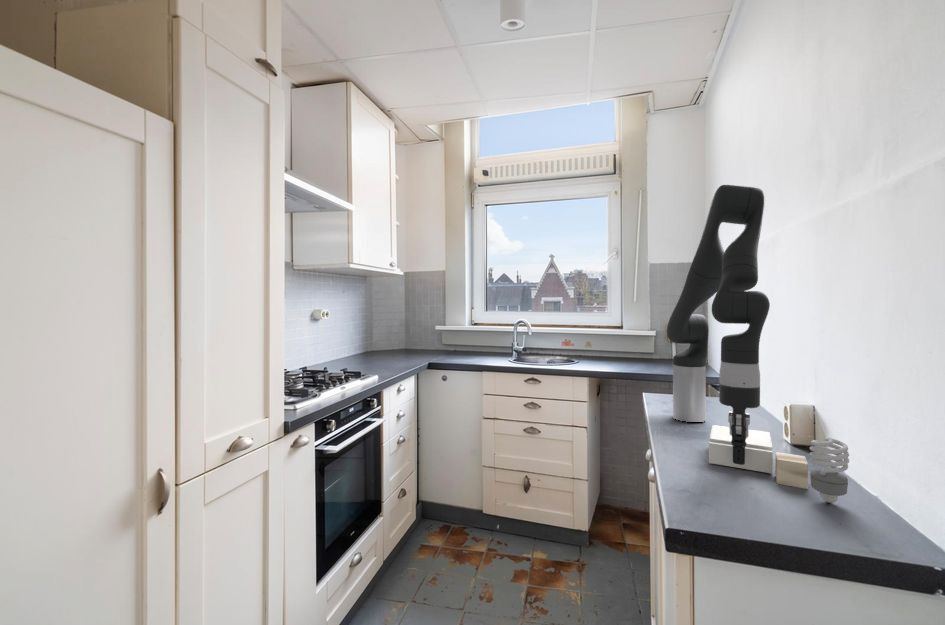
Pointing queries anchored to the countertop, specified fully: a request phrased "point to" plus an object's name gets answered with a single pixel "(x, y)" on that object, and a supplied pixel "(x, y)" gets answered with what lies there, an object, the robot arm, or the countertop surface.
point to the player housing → (752, 441)
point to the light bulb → (829, 469)
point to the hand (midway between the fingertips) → (738, 463)
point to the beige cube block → (791, 470)
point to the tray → (753, 457)
